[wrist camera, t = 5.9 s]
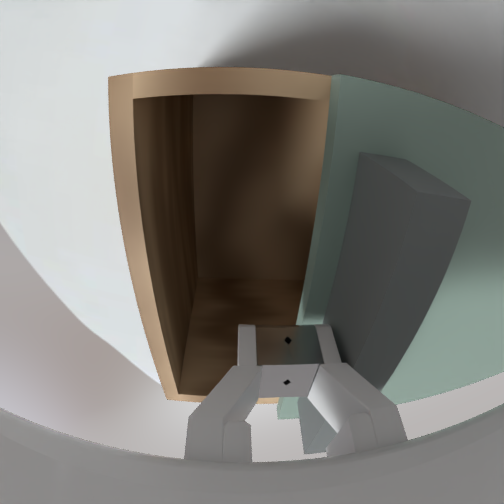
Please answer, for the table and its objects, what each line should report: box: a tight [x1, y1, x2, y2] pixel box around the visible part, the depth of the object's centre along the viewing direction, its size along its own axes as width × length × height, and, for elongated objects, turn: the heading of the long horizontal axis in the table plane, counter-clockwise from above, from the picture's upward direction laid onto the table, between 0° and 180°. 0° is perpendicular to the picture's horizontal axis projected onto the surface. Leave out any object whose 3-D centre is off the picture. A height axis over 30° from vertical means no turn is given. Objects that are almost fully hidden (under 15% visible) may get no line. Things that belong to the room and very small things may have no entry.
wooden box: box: [108, 67, 332, 404], centre depth 16 cm, size 22×16×12 cm
